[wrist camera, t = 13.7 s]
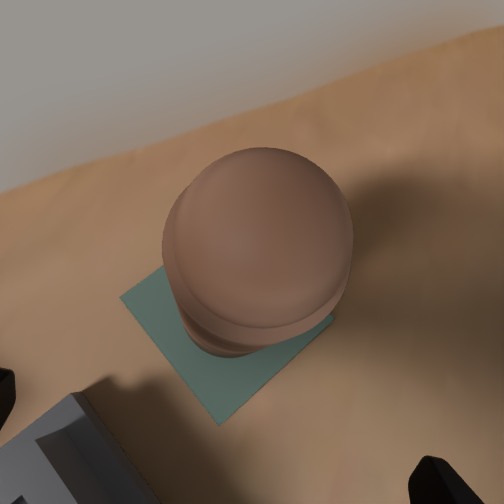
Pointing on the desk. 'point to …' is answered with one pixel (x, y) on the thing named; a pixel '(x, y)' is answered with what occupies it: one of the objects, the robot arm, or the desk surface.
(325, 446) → the desk surface
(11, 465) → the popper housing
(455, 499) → the robot arm
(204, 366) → the tile
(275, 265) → the terracotta pawn
